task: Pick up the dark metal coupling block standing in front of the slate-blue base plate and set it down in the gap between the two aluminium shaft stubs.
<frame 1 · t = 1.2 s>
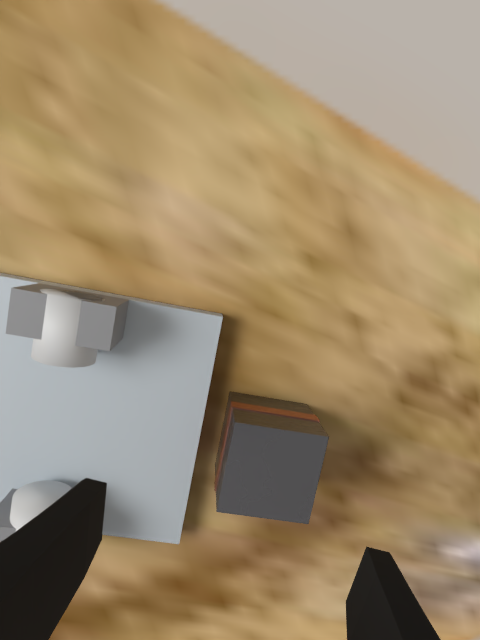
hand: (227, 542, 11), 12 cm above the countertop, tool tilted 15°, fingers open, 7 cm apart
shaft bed: (73, 406, 23), on the countertop
coupling: (260, 434, 24), on the countertop
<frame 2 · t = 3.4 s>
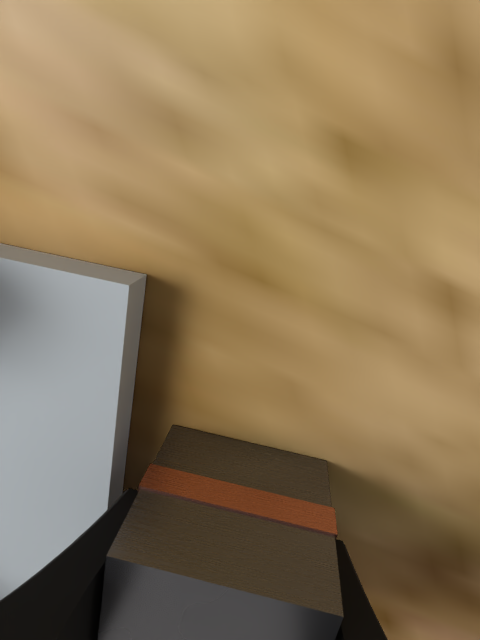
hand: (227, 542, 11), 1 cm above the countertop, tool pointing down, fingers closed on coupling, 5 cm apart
coupling: (234, 504, 13), on the countertop, touching gripper
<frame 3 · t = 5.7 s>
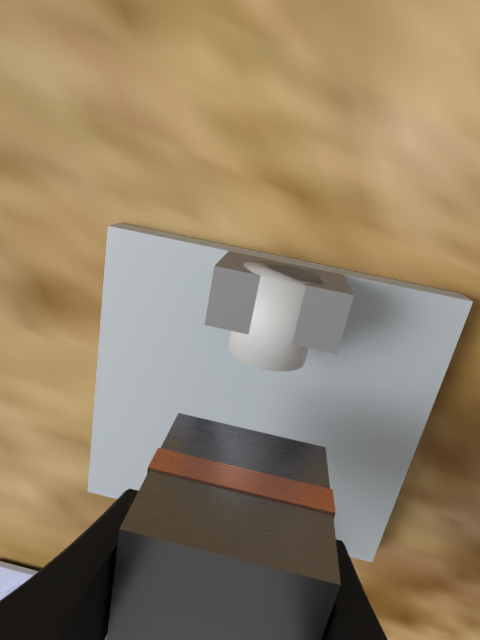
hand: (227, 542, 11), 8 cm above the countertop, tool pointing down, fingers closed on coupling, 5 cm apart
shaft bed: (255, 396, 19), on the countertop
coupling: (237, 489, 13), point 6 cm above the countertop, touching gripper
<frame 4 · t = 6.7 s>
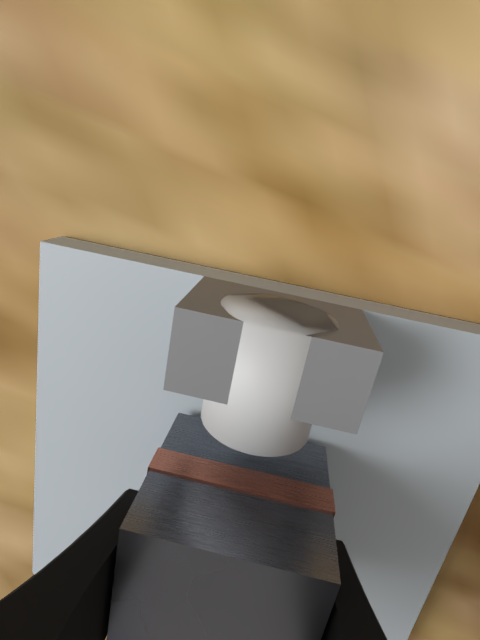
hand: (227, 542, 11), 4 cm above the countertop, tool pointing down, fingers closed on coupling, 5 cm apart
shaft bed: (243, 459, 15), on the countertop
coupling: (237, 489, 13), point 2 cm above the countertop, touching gripper
when the fingers open (4 cm above the countertop, at t = 7.3 s): coupling stays where it is, resting on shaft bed.
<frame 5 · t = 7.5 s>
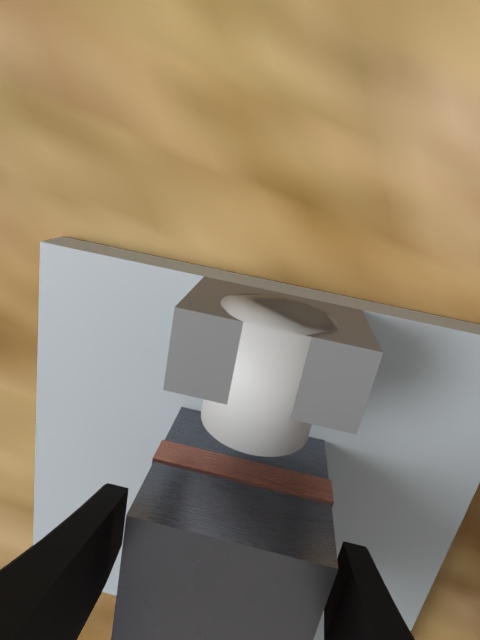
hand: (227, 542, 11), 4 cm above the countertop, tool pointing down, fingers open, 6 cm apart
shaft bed: (243, 459, 15), on the countertop
coupling: (238, 481, 14), point 1 cm above the countertop, touching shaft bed
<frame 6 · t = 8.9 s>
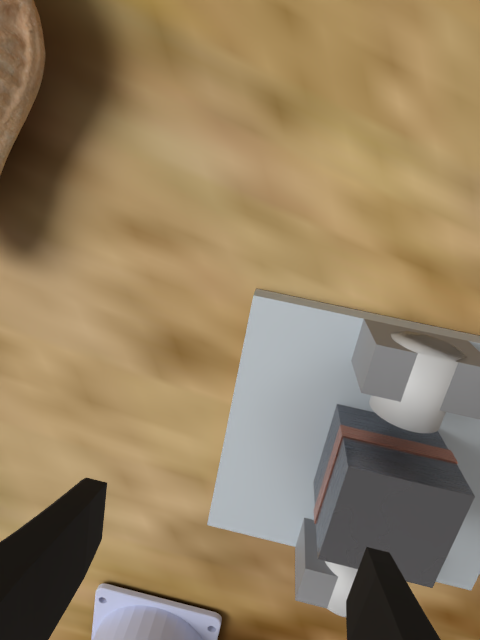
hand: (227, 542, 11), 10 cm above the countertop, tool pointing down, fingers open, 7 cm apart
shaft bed: (367, 440, 21), on the countertop
coupling: (371, 455, 20), point 1 cm above the countertop, touching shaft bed
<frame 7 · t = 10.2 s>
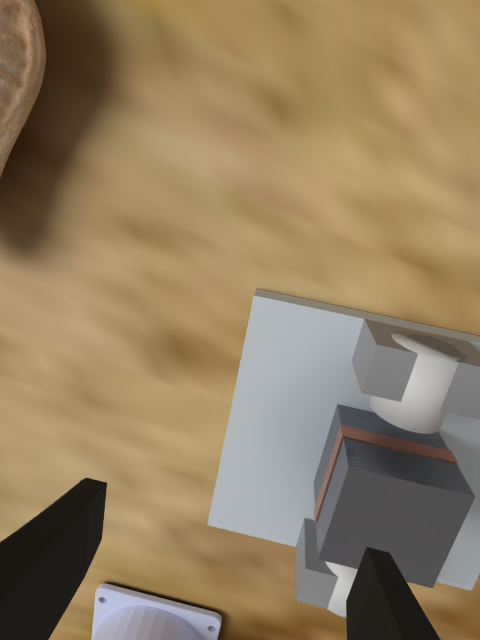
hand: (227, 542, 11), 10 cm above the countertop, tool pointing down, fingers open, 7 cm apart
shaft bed: (367, 441, 21), on the countertop
coupling: (371, 455, 20), point 1 cm above the countertop, touching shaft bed
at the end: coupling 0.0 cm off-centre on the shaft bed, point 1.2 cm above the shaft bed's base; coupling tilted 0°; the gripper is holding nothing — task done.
